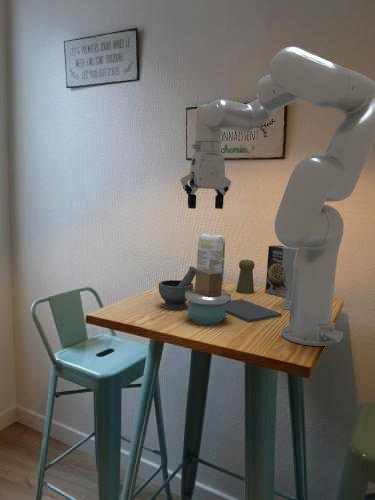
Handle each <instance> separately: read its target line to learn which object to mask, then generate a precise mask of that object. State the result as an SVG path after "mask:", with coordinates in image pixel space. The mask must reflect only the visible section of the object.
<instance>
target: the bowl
mask: <svg viewBox="0 0 375 500" xmlns="http://www.w3.org/2000/svg"><path fill="white" fill-rule="evenodd" d="M187 305H188V306H187V316H188V317H189V318H191V320H192V322H193V321H194V322H193V323H196V324H197V323H198V325H204V326H213V325H214V324H216V325H218V324H221V323H222V320H224V319H226V317H227V313H226V307H227V303H226V304H220V305H204V304H197V303H192V302H189V301H188V302H187ZM220 322H221V323H220Z"/></svg>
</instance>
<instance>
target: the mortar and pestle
mask: <svg viewBox="0 0 375 500" xmlns="http://www.w3.org/2000/svg"><path fill="white" fill-rule="evenodd" d="M196 270H197V267H195V266H189V268H188V271H187V272H186V274H185V275H184V277H183V278H182V279H180V280H179V279H167V280H161V281H160V282H158V293H159V295H160V297H161V299H163V301H164V305H163V307H164V308H166V309H168V310H174V311H175V310H176V311H177V310H179V311H180V310H184V309H185V308H186V306H187V303H186V301H187V300H186V299H185V292H186V291H188V290H193V289H194V284H193V283H192V282H193V280H194V278H196Z"/></svg>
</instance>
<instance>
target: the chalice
mask: <svg viewBox="0 0 375 500" xmlns="http://www.w3.org/2000/svg"><path fill="white" fill-rule="evenodd" d="M283 246H284V247H282V249H283V263H282V264H283V268H284V271H285V274H286V276H287V278H289V279H290V283H289V285H288V286H289V291H288V293H289V296H288V298H285V299H284V300H283V302H282V304H281V306H280V308H281V309H283V310H284V309H285V310H288V311H290V304H291V291H292V278H293V266H294V259H295V255H296V252H297V249H298V248H292V247H288V246H285V245H283Z"/></svg>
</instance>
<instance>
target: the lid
mask: <svg viewBox="0 0 375 500" xmlns="http://www.w3.org/2000/svg"><path fill="white" fill-rule="evenodd" d="M194 287H195V288H193V290H188V291H186V292H185V299H186V300H187V301H189V302H192V303H197V304H204V305H220V304H226V303H229V302H230V301H232V294H231V293H229V292H227V291H225V290H222V289H223V288H222V287H223V284H222V273H221V272H217V271H214V270H210V269H202V270H196V275H195V285H194Z"/></svg>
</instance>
